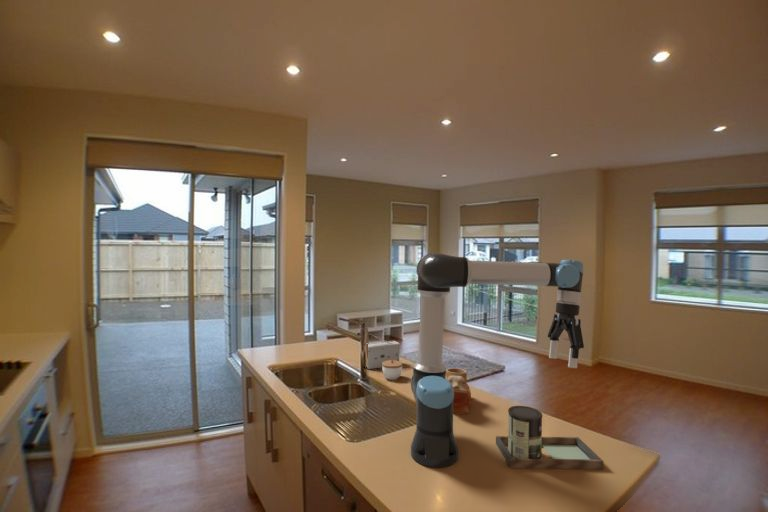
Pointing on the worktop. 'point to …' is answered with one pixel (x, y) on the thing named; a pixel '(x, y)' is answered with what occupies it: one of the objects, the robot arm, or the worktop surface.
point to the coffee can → (525, 433)
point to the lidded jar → (392, 369)
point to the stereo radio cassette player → (382, 353)
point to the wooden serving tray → (590, 463)
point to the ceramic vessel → (459, 390)
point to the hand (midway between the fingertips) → (562, 362)
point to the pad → (564, 452)
